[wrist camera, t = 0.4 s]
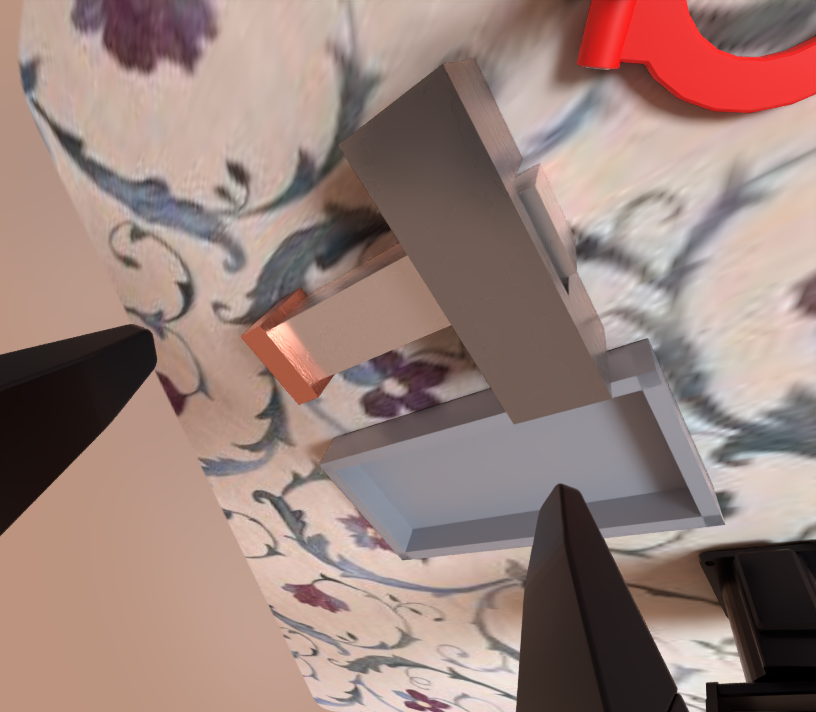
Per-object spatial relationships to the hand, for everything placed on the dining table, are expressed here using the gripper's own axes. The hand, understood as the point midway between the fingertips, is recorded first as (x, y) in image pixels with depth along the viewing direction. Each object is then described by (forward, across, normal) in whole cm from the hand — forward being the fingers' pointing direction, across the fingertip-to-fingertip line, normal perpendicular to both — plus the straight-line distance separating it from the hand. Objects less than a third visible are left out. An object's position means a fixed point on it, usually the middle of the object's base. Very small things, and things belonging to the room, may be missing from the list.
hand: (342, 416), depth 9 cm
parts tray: (+13, -6, +13) cm, 20 cm away
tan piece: (+14, +2, +4) cm, 14 cm away
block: (+13, -2, 0) cm, 13 cm away
